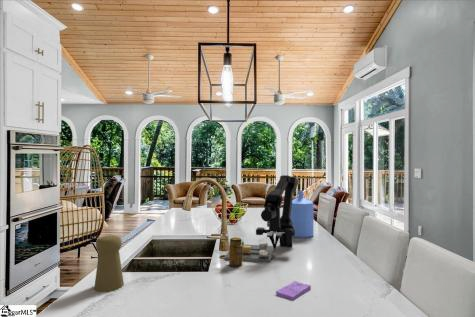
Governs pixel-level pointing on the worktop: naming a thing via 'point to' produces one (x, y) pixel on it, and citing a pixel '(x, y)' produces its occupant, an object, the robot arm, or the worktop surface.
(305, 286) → the sponges
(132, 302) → the worktop surface
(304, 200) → the water jug
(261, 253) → the button
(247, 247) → the slider
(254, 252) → the panel
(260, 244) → the slider
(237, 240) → the condiment
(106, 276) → the cork
